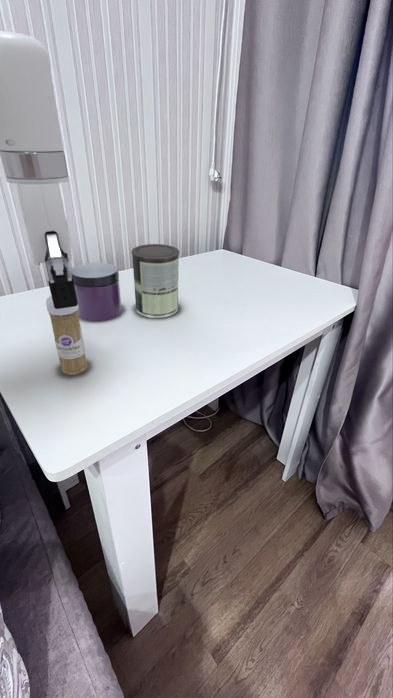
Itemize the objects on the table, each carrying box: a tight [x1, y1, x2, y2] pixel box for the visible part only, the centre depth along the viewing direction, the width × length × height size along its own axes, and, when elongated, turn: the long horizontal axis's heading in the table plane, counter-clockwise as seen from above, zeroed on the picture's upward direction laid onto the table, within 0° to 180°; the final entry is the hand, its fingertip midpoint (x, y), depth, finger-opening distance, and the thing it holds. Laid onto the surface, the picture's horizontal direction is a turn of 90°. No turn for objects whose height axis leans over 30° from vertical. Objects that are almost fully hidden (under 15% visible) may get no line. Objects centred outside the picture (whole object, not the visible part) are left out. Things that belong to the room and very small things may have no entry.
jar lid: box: [70, 261, 120, 287], centre depth 72 cm, size 10×10×2 cm
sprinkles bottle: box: [45, 295, 89, 376], centre depth 55 cm, size 5×5×13 cm
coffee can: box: [131, 243, 180, 319], centre depth 76 cm, size 10×10×14 cm
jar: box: [74, 277, 123, 322], centre depth 75 cm, size 10×10×10 cm
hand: (63, 293), depth 51 cm, fingers open, 9 cm apart
